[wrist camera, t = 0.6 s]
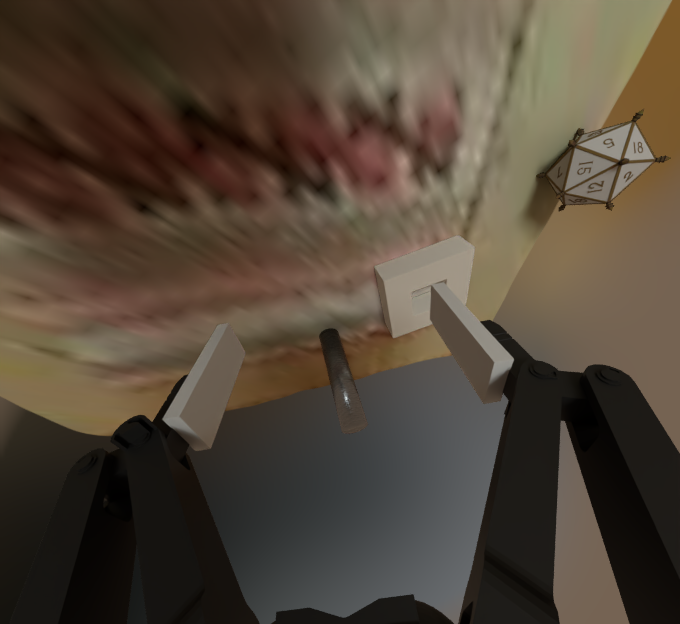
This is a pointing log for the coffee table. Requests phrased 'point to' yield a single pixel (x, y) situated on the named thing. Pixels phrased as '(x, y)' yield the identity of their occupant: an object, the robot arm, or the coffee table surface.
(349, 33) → the coffee table surface
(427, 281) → the socket block
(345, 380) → the pin
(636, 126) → the game die
